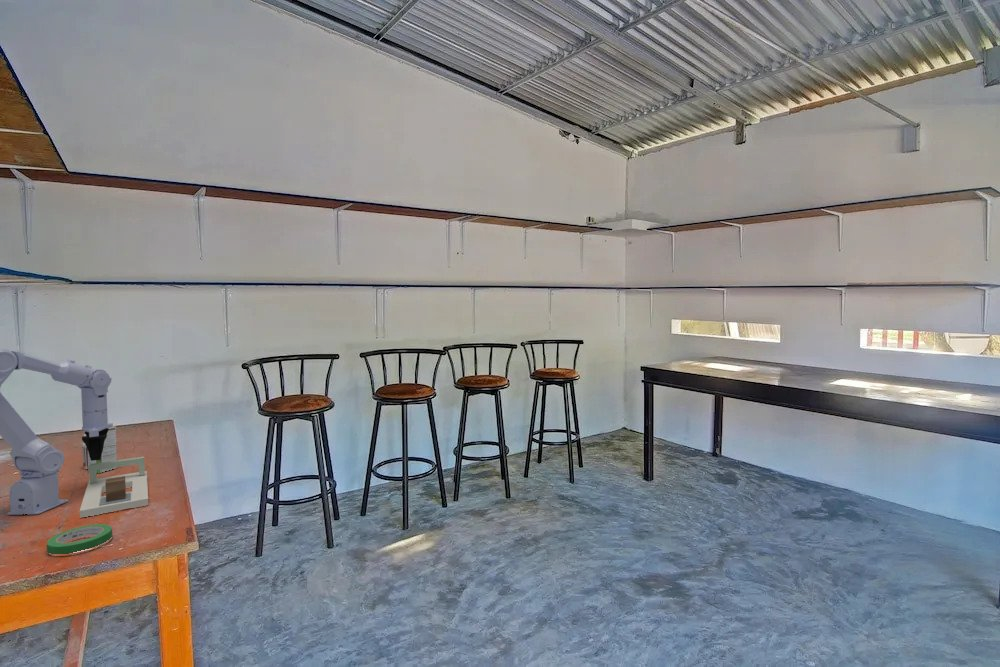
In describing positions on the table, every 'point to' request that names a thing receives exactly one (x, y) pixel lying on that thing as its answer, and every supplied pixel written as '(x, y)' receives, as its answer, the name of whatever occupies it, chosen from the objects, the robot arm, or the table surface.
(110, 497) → the walnut block
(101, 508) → the puzzle board
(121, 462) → the sliding bridge
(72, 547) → the tape roll
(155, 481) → the table surface
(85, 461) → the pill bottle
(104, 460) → the syrup box
